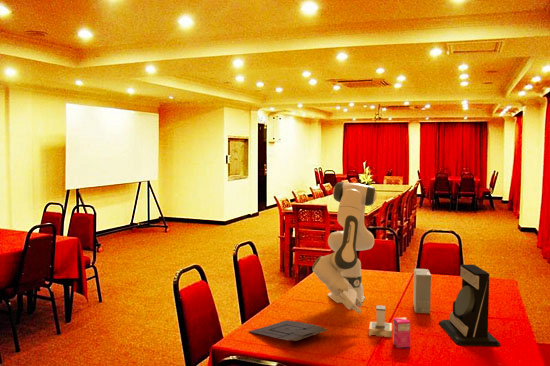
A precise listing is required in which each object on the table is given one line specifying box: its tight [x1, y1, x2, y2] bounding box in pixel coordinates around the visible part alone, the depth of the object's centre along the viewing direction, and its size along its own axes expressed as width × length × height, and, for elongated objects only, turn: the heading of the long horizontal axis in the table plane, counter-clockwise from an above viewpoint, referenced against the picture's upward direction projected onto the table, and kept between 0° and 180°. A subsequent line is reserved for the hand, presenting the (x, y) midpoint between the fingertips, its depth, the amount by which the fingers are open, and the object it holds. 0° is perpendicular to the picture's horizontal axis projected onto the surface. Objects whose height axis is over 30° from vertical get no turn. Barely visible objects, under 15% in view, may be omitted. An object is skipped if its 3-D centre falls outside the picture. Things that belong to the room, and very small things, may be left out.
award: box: [438, 263, 501, 347], centre depth 227 cm, size 30×19×30 cm, turn 178°
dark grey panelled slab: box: [247, 319, 329, 342], centre depth 226 cm, size 24×30×4 cm
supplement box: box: [392, 316, 411, 349], centre depth 213 cm, size 6×6×12 cm
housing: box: [375, 304, 386, 328], centre depth 229 cm, size 4×5×8 cm
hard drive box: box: [412, 268, 432, 314], centre depth 263 cm, size 16×8×20 cm, turn 168°
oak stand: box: [368, 321, 393, 338], centre depth 229 cm, size 10×10×3 cm
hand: (360, 309), depth 231 cm, fingers open, 8 cm apart
